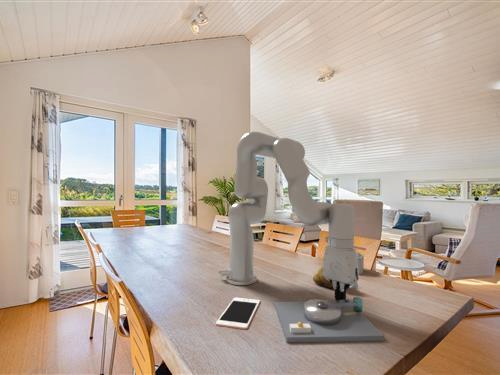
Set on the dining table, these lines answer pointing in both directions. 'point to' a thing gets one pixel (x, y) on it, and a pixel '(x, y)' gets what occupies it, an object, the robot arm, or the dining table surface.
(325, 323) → the dial
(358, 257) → the lumpy-topped squat cylinder
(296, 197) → the robot arm
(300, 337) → the stand
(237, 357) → the dining table surface
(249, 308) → the cell phone
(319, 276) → the brown irregular lump
